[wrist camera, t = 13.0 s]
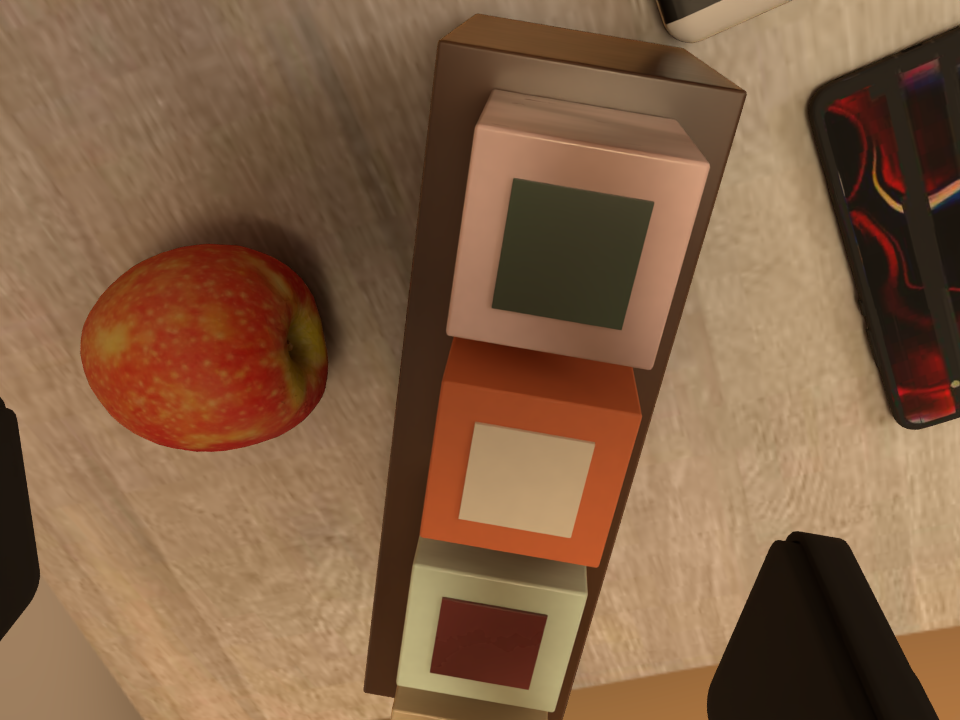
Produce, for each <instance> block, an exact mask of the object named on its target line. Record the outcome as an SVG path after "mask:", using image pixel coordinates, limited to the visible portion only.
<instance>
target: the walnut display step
mask: <svg viewBox="0 0 960 720" xmlns="http://www.w3.org/2000/svg"><path fill="white" fill-rule="evenodd" d="M495 89H496V90H502V91H508V92H514V93H520V94H526V95H532V96H538V97H544V98H549V99H555V100H561V101H567V102H573V103H579V104H585V105H591V106H597V107H603V108H609V109H615V110H620V111H626V112H632V113H638V114H644V115H650V116H656V117H662V118H668V119H674V120H676V121H678V123H679V124H680V125H681V127H682V128H683V129H684V131H685V132H686V133H687V135H688V136H689V137H690V139H691V140H692V141H693V142H694V144H695V145H696V146H697V148H698V149H699V150H700V152H701V153H702V154H703V156H704V157H705V158H706V160H707V161H708V162H709V164H710V169H709V173H708V176H707V180H706V183H705V187H704V190H703V194H702V197H701V201H700V204H699V208H698V211H697V215H696V218H695V222H694V225H693V229H692V232H691V236H690V239H689V243H688V246H687V250H686V253H685V257H684V260H683V264H682V267H681V271H680V274H679V278H678V281H677V285H676V288H675V292H674V295H673V299H672V302H671V306H670V309H669V313H668V316H667V320H666V323H665V327H664V330H663V334H662V337H661V341H660V344H659V348H658V351H657V355H656V358H655V362H654V365H653V367H652V369H651V370H646V369H640V368H634V367H633V372H634V377H635V382H636V388H637V393H638V398H639V403H640V408H641V414H642V419H641V422H640V426H639V429H638V433H637V436H636V440H635V443H634V447H633V450H632V454H631V457H630V460H629V464H628V467H627V471H626V474H625V478H624V481H623V485H622V488H621V492H620V495H619V498H618V502H617V505H616V509H615V512H614V516H613V519H612V523H611V526H610V529H609V533H608V536H607V540H606V543H605V547H604V550H603V554H602V557H601V561H600V564H599V566H598V567H597V568H595V567H589V566H586V571H587V590H588V596H587V600H586V603H585V607H584V610H583V614H582V617H581V621H580V624H579V628H578V631H577V635H576V638H575V642H574V645H573V649H572V652H571V656H570V659H569V663H568V666H567V670H566V673H565V677H564V680H563V684H562V687H561V691H560V694H559V698H558V701H557V705H556V708H555V711H554V712H548V720H562V719H563V716H564V713H565V709H566V706H567V702H568V699H569V695H570V692H571V689H572V686H573V682H574V679H575V675H576V672H577V669H578V665H579V662H580V658H581V655H582V652H583V648H584V645H585V641H586V638H587V635H588V631H589V628H590V624H591V621H592V618H593V614H594V611H595V607H596V604H597V601H598V597H599V594H600V591H601V587H602V584H603V580H604V577H605V574H606V570H607V567H608V563H609V560H610V557H611V553H612V550H613V546H614V543H615V540H616V536H617V533H618V529H619V526H620V523H621V519H622V516H623V512H624V509H625V506H626V502H627V499H628V496H629V492H630V489H631V485H632V482H633V479H634V475H635V472H636V468H637V465H638V462H639V458H640V455H641V451H642V448H643V445H644V441H645V438H646V434H647V431H648V428H649V424H650V421H651V417H652V414H653V411H654V407H655V404H656V401H657V397H658V394H659V390H660V387H661V384H662V380H663V377H664V373H665V370H666V367H667V363H668V360H669V356H670V353H671V350H672V346H673V343H674V339H675V336H676V333H677V329H678V326H679V322H680V319H681V316H682V312H683V309H684V306H685V302H686V299H687V295H688V292H689V289H690V285H691V282H692V278H693V275H694V272H695V268H696V265H697V261H698V258H699V255H700V251H701V248H702V244H703V241H704V238H705V234H706V231H707V227H708V224H709V221H710V217H711V214H712V211H713V207H714V204H715V200H716V197H717V194H718V190H719V187H720V183H721V180H722V177H723V173H724V170H725V166H726V163H727V160H728V156H729V153H730V149H731V146H732V143H733V139H734V136H735V132H736V129H737V126H738V122H739V119H740V116H741V112H742V109H743V105H744V102H745V99H746V95H747V94H746V91H744V90H743V89H742V88H740V87H739V86H737V85H736V84H734V83H733V82H731V81H730V80H729V79H727V78H726V77H724V76H723V75H721V74H720V73H718V72H717V71H716V70H714V69H713V68H711V67H710V66H708V65H707V64H705V63H704V62H703V61H701V60H700V59H698V58H697V57H695V56H694V55H692V54H691V53H690V52H688V51H687V50H685V49H684V48H678V47H673V46H667V45H661V44H655V43H649V42H643V41H637V40H631V39H625V38H619V37H613V36H607V35H601V34H595V33H589V32H583V31H578V30H572V29H566V28H560V27H554V26H548V25H542V24H536V23H530V22H524V21H518V20H512V19H506V18H500V17H494V16H488V15H482V14H475V15H474V16H472V17H471V18H470V19H468V20H467V21H465V22H464V23H463V24H461V25H460V26H458V27H457V28H455V29H454V30H453V31H451V32H450V33H448V34H447V35H446V36H444V37H443V38H441V39H440V40H439V41H438V45H437V54H436V63H435V71H434V80H433V89H432V97H431V106H430V115H429V124H428V132H427V141H426V150H425V158H424V167H423V176H422V185H421V193H420V202H419V211H418V219H417V228H416V237H415V246H414V254H413V263H412V272H411V280H410V289H409V298H408V307H407V315H406V324H405V333H404V341H403V350H402V359H401V368H400V376H399V385H398V394H397V402H396V411H395V420H394V429H393V437H392V446H391V455H390V463H389V472H388V481H387V489H386V498H385V507H384V516H383V524H382V533H381V542H380V550H379V559H378V568H377V577H376V585H375V594H374V603H373V611H372V620H371V629H370V638H369V646H368V655H367V664H366V672H365V681H364V692H365V693H369V694H375V695H381V696H387V697H392V698H395V694H396V689H397V683H396V679H397V672H398V664H399V657H400V650H401V643H402V636H403V629H404V622H405V615H406V608H407V601H408V594H409V587H410V580H411V573H412V566H413V561H414V557H415V553H416V548H417V544H418V540H419V535H420V527H421V520H422V514H423V507H424V500H425V493H426V486H427V479H428V472H429V465H430V459H431V452H432V445H433V438H434V431H435V424H436V417H437V410H438V404H439V397H440V390H441V383H442V379H443V375H444V371H445V368H446V364H447V360H448V356H449V353H450V349H451V345H452V341H453V336H449V335H447V333H446V326H447V319H448V312H449V305H450V298H451V291H452V284H453V277H454V270H455V263H456V256H457V249H458V242H459V235H460V228H461V221H462V214H463V207H464V200H465V193H466V186H467V179H468V171H469V164H470V157H471V150H472V143H473V136H474V129H475V126H476V124H477V122H478V120H479V117H480V115H481V113H482V111H483V109H484V107H485V105H486V103H487V100H488V98H489V96H490V94H491V92H492V90H495Z"/></svg>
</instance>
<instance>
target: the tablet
mask: <svg viewBox="0 0 960 720" xmlns="http://www.w3.org/2000/svg"><path fill="white" fill-rule="evenodd" d="M789 1H792V0H656V3H657V6H658V9H659V12H660V15H661V18H662V21H663V24H664V26H665V28H666V30H667V31H668V33H669V34H671V35H672V36H673V37H674V38H676V39H678V40H680V41H682V42H686V43H695V42H699V41H702V40H704V39H706V38H709V37H711V36H713V35H715V34H718V33H720V32H722V31H724V30H727V29H729V28H731V27H733V26H736V25H738V24H740V23H742V22H745V21H747V20H749V19H751V18H753V17H756V16H758V15H760V14H762V13H765V12H767V11H769V10H771V9H774V8H776V7H778V6H780V5H783V4H785V3H787V2H789Z"/></svg>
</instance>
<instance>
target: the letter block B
mask: <svg viewBox="0 0 960 720" xmlns="http://www.w3.org/2000/svg"><path fill="white" fill-rule="evenodd" d="M587 596H588V590H587V571H586V566H583V565H578V564H572V563H566V562H560V561H555V560H549V559H543V558H537V557H532V556H526V555H520V554H514V553H509V552H503V551H497V550H491V549H486V548H480V547H474V546H468V545H463V544H457V543H451V542H445V541H440V540H434V539H428V538H422V537H420V535H419V540H418V544H417V548H416V553H415V557H414V561H413V566H412V573H411V580H410V587H409V594H408V601H407V608H406V615H405V622H404V629H403V636H402V643H401V650H400V657H399V664H398V672H397V679H396V683H397V685H399V686H404V687H409V688H415V689H421V690H427V691H432V692H438V693H444V694H450V695H455V696H461V697H467V698H473V699H478V700H484V701H490V702H496V703H501V704H507V705H513V706H519V707H524V708H530V709H536V710H541V711H547V712H554V711H555V708H556V705H557V701H558V698H559V694H560V691H561V687H562V684H563V680H564V677H565V673H566V670H567V666H568V663H569V659H570V656H571V652H572V649H573V645H574V642H575V638H576V635H577V631H578V628H579V624H580V621H581V617H582V614H583V610H584V607H585V603H586V600H587Z"/></svg>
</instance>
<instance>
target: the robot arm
mask: <svg viewBox="0 0 960 720" xmlns="http://www.w3.org/2000/svg"><path fill="white" fill-rule="evenodd" d="M39 579H40V569H39V562H38V555H37V549H36V542H35V535H34V529H33V522H32V515H31V509H30V502H29V495H28V489H27V482H26V475H25V469H24V462H23V455H22V449H21V442H20V435H19V429H18V422H17V418H16V414H15V413H14V412H13V410H11V409H8V408H6V407H5V404H4V401H3V400H2V399H1V397H0V641H1V639H2V638H3V637H4V636H5V634H6V633H7V632H8V630H9V629H10V628H11V627H12V625H13V624H14V623H15V621H16V620H17V619H18V618H19V616H20V615H21V614H22V613H23V611H24V610H25V609H26V607H27V606H28V605H29V603H30V602H31V600H32V599H33V597H34V595H35V592H36V590H37V588H38V584H39ZM707 713H708V719H709V720H939V718H938V716H937V714H936V712H935V710H934V708H933V706H932V704H931V703H930V701H929V699H928V697H927V695H926V693H925V691H924V689H923V687H922V685H921V683H920V681H919V679H918V678H917V676H916V675H915V673H914V672H913V671H912V669H911V667H910V665H909V663H908V661H907V659H906V657H905V655H904V653H903V651H902V649H901V647H900V645H899V643H898V641H897V639H896V637H895V635H894V633H893V631H892V629H891V627H890V625H889V623H888V621H887V619H886V617H885V615H884V614H883V612H882V610H881V608H880V606H879V604H878V602H877V600H876V598H875V596H874V594H873V592H872V590H871V588H870V586H869V584H868V582H867V580H866V578H865V576H864V574H863V572H862V570H861V568H860V566H859V564H858V562H857V560H856V558H855V556H854V554H853V552H852V550H851V548H850V547H849V545H848V544H847V543H846V541H844V540H842V539H840V538H835V537H829V536H823V535H817V534H811V533H805V532H799V531H796V532H792V533H791V534H790V535H789V536H788V537H787V539H786V541H781V540H777V541H775V542H774V543H773V544H772V545H771V547H770V549H769V551H768V554H767V556H766V558H765V560H764V563H763V565H762V567H761V570H760V572H759V574H758V576H757V579H756V581H755V583H754V586H753V588H752V590H751V592H750V595H749V597H748V599H747V602H746V604H745V606H744V609H743V611H742V613H741V615H740V618H739V620H738V622H737V625H736V627H735V629H734V631H733V634H732V636H731V638H730V641H729V643H728V645H727V647H726V650H725V652H724V654H723V657H722V659H721V661H720V664H719V666H718V668H717V670H716V673H715V675H714V677H713V680H712V682H711V684H710V687H709V692H708V698H707Z"/></svg>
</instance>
